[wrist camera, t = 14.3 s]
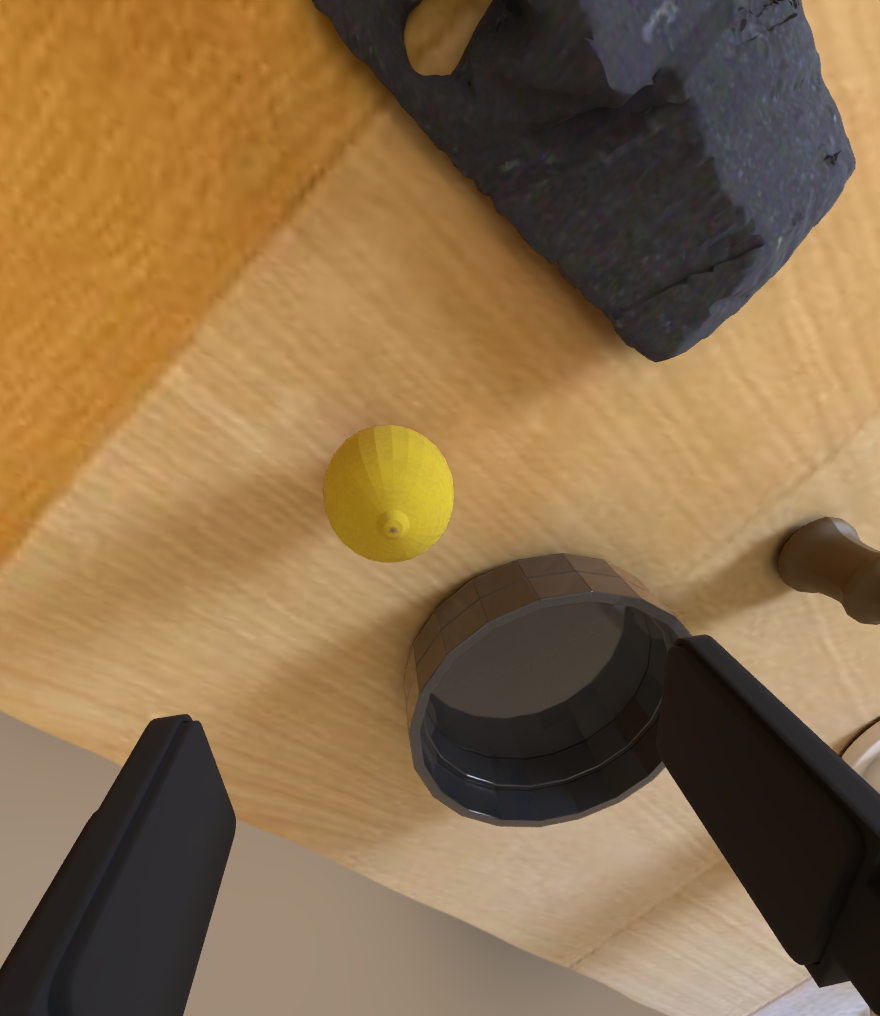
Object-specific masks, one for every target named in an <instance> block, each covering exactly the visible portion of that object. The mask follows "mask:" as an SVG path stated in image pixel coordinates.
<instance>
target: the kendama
mask: <svg viewBox="0 0 880 1016" xmlns="http://www.w3.org/2000/svg"><path fill="white" fill-rule="evenodd" d="M778 571H779V574H780V576H781V578H782V579H783V581H784V583H786V584H787V585H789V586H790V587H792V588H793V589H795V590H797V591H800V592H809V593H818V592H819V593H822V594H824V595H827V596H829V597H831V598H833V599H835V600H837V601H839V602H840V603H841V604H842V605H843V607H844V609H845V611H846V613H847V614H848V615H849V616H850V617H852V618H853V619H855V620H856V621H858V622H860V623H864V624H873V625H878V624H880V551H877V550H875V549H873V548H871V547H869V546H867V545H866V544H864V543H863V542H861V541H860V539H859V537H858V535H857V532H856V530H855V529H854V528H853V527H852V526H851V525H849V524H848V523H847V522H845V521H844V520H842V519H839V518H831V517H824V518H821V519H818V520H816V521H813V522H810V523H808V524H807V525H805V526H804V527H802V528H801V529H799V530H798V531H797V532H795V533H794V534H793V535H792V537H791V538H790V539H789V540H788V541H787V543H786V544H785V545H784V547H783V549H782V552H781V554H780V556H779V559H778Z"/></svg>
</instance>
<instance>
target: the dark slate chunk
mask: <svg viewBox="0 0 880 1016" xmlns="http://www.w3.org/2000/svg"><path fill="white" fill-rule="evenodd" d="M421 1H422V0H312V2H313V3H314V5H315V7H316V8H317V9H318V10H319V11H321V12H322V13H324V14H325V15H326V16H328V17H329V18H330V20H331V21H332V22H333V24H334V26H335V28H336V30H337V32H338V34H339V35H340V37H341V38H342V39H343V41H344V42H345V44H346V45H347V46H348V48H349V49H350V50H351V52H352V53H353V54H354V55H355V56H357V57H358V58H359V59H361V60H362V61H364V62H365V63H366V64H368V65H369V66H370V68H371V69H372V70H373V72H374V73H375V75H376V76H377V78H378V79H379V80H380V81H381V82H382V83H383V85H385V86H386V87H387V88H388V89H389V90H390V91H391V92H392V94H393V95H394V96H395V98H396V99H397V101H398V102H399V103H400V105H401V106H402V107H403V108H404V109H405V110H406V111H407V112H408V113H409V114H410V115H411V116H412V118H413V119H414V120H415V121H416V122H417V123H418V125H419V126H420V127H421V129H422V130H423V131H424V132H425V133H426V134H427V135H428V136H429V138H430V139H431V140H432V142H433V143H434V145H435V146H436V147H437V148H439V149H440V150H442V151H446V152H447V154H448V156H449V158H450V160H451V161H452V163H453V165H454V166H455V167H456V168H457V169H459V170H460V171H461V173H462V174H463V175H464V176H466V177H468V178H471V179H474V181H475V183H476V186H477V189H478V191H480V192H482V193H483V194H485V195H487V196H489V197H490V198H491V199H492V201H493V203H494V205H495V208H496V210H497V212H498V213H499V214H501V215H503V216H505V217H506V218H507V219H508V220H509V221H510V222H511V223H512V224H513V225H514V226H515V227H516V229H517V230H518V231H519V233H520V234H521V235H522V237H523V238H524V240H525V241H526V242H527V243H528V244H529V245H530V246H531V247H532V248H533V249H534V250H535V251H536V252H537V253H538V254H540V255H542V256H543V257H544V258H546V259H547V261H548V262H549V263H554V262H557V266H558V269H559V271H560V273H561V274H562V276H563V277H564V278H565V279H566V280H567V281H568V282H569V283H571V284H572V285H573V286H574V287H575V288H578V289H580V290H581V292H582V294H583V295H584V297H585V298H586V299H587V300H588V301H590V302H591V303H592V304H593V305H594V306H595V307H597V308H598V309H600V310H601V311H602V312H603V313H604V314H605V316H606V317H607V318H609V320H610V321H611V322H612V324H613V326H614V328H615V331H616V332H617V334H618V335H619V336H620V337H621V339H622V340H623V341H624V342H625V344H626V345H628V346H629V347H632V348H635V349H636V350H637V351H638V352H639V353H641V354H642V355H643V356H645V357H646V358H648V359H650V360H652V361H654V362H659V361H663V360H667V359H670V358H673V357H675V356H677V355H679V354H682V353H684V352H686V351H687V350H689V349H690V348H691V347H693V346H694V345H695V344H697V343H698V342H699V341H700V340H701V339H704V338H706V337H708V336H709V335H711V334H712V333H713V332H714V331H715V329H716V328H717V327H718V326H719V325H721V324H722V323H723V322H724V321H725V320H726V319H727V318H729V317H730V316H732V315H734V314H735V313H736V312H738V311H739V309H740V308H741V307H742V306H743V305H745V304H746V303H747V302H748V300H749V299H750V298H751V297H752V295H753V294H754V293H755V292H757V291H758V290H759V289H760V288H761V287H762V286H763V285H764V284H765V283H766V282H767V281H768V280H769V279H770V278H771V277H773V276H774V275H775V274H776V273H777V272H778V270H779V269H780V268H781V267H782V266H783V265H784V264H785V263H786V262H787V261H788V259H789V258H790V257H791V255H792V254H793V252H794V250H795V249H796V248H797V247H798V245H799V244H800V243H801V242H802V241H803V239H804V238H805V237H806V236H807V234H808V233H809V232H810V230H811V229H812V227H814V226H815V225H816V224H818V222H819V221H820V220H821V219H822V218H823V217H824V216H825V214H826V213H827V212H828V211H829V210H830V209H831V207H832V206H833V205H834V203H835V202H836V200H837V199H838V197H839V195H840V194H841V192H842V191H843V189H844V185H845V183H846V181H847V180H848V179H849V177H850V176H851V174H852V173H853V171H854V170H855V163H856V162H855V157H854V154H853V152H852V149H851V145H850V142H849V139H848V138H847V136H846V134H845V130H844V127H843V123H842V120H841V116H840V113H839V111H838V108H837V106H836V104H835V102H834V100H833V99H832V97H831V95H830V93H829V90H828V89H827V87H826V86H825V84H824V82H823V79H822V76H821V63H820V57H819V54H818V53H817V51H816V48H815V44H814V38H813V34H812V31H811V28H810V26H809V24H808V22H807V20H806V18H805V15H804V11H803V7H802V2H801V0H492V2H491V4H490V6H489V7H488V9H487V11H486V13H485V14H484V16H483V18H482V19H481V21H480V22H479V24H478V25H477V27H476V29H475V31H474V33H473V35H472V37H471V39H470V41H469V43H468V45H467V47H466V49H465V51H464V53H463V55H462V58H461V60H460V62H459V63H458V65H457V67H456V68H455V69H454V71H453V72H452V74H451V75H445V76H439V75H431V76H424V75H420V74H418V73H417V72H416V71H414V70H413V68H412V67H411V65H410V63H409V60H408V57H407V53H406V48H405V44H404V29H405V24H406V21H407V18H408V15H409V13H410V11H411V10H412V9H413V8H415V7H416V6H417V5H418V4H419V3H420V2H421Z"/></svg>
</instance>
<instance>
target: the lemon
mask: <svg viewBox="0 0 880 1016" xmlns="http://www.w3.org/2000/svg"><path fill="white" fill-rule="evenodd" d="M323 494H324V504H325V511H326V513H327V516H328V519H329V521H330V524H331V526H332V528H333V530H334V531H335V533H336V534H337V535H338V537H339V538H340V539H341V541H342V542H343V543H344V544H345V545H346V546H348V547H349V548H350V549H351V550H353V551H354V552H355V553H357V554H359V555H361V556H363V557H365V558H367V559H369V560H374V561H379V562H400V561H405V560H409V559H412V558H414V557H416V556H418V555H420V554H422V553H424V552H425V551H426V550H428V549H429V548H430V547H431V546H433V545H434V544H435V543H436V542H437V540H438V539H439V538H440V536H441V535H442V534H443V532H444V531H445V529H446V526H447V524H448V522H449V519H450V517H451V514H452V508H453V501H454V489H453V480H452V475H451V472H450V470H449V467H448V465H447V462H446V460H445V458H444V457H443V455H442V454H441V453H440V451H439V450H438V449H437V448H436V446H435V445H434V444H433V443H432V442H430V441H429V440H428V439H427V438H425V437H424V436H423V435H422V434H420V433H418V432H415V431H413V430H411V429H408V428H406V427H401V426H394V425H382V426H373V427H371V428H368V429H365V430H362V431H360V432H358V433H356V434H355V435H353V436H352V437H351V438H349V439H348V440H346V441H345V442H344V443H343V444H342V446H341V447H340V448H339V449H338V450H337V451H336V453H335V454H334V455H333V458H332V460H331V462H330V464H329V466H328V468H327V470H326V475H325V481H324V487H323Z"/></svg>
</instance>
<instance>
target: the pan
mask: <svg viewBox="0 0 880 1016" xmlns="http://www.w3.org/2000/svg"><path fill="white" fill-rule="evenodd" d="M686 637H692V635H691V634H690V633H689V631H688V630H687V629H686V628H685V626H684V625H683V624H682V622H681V621H680V620H679V619H678V617H677V616H676V615H675V614H673V613H672V612H671V611H670V610H669V609H668V608H667V607H666V606H665V605H664V604H663V603H662V602H661V601H660V600H659V599H658V598H657V597H656V596H655V595H654V594H653V593H652V592H651V591H650V590H649V589H648V588H646V587H645V586H644V585H643V584H642V583H641V582H640V581H639V580H638V579H637V578H636V577H634V576H632V575H630V574H628V573H627V572H625V571H623V570H621V569H619V568H617V567H616V566H614V565H612V564H610V563H608V562H606V561H604V560H601V559H595V558H588V557H582V556H575V555H569V554H563V553H562V554H554V555H547V556H540V557H533V558H526V559H519V560H516V561H512V562H510V563H508V564H505V565H503V566H501V567H499V568H496V569H494V570H492V571H489V572H487V573H485V574H483V575H480V576H478V577H476V578H473V580H472V579H471V580H470V581H469V582H468V583H466V584H465V585H464V586H463V587H462V588H460V589H459V590H458V591H457V592H455V593H454V594H453V595H452V596H451V597H449V598H448V599H447V600H446V601H444V602H443V603H442V604H441V605H439V606H438V607H437V609H436V610H435V611H434V613H433V614H432V616H431V617H430V619H429V620H428V622H427V623H426V625H425V626H424V628H423V629H422V631H421V632H420V634H419V635H418V637H417V638H416V640H415V641H414V643H413V645H412V649H411V653H410V657H409V661H408V664H407V668H406V672H405V676H404V686H405V697H406V708H407V720H408V731H409V739H410V745H411V752H412V759H413V766H414V769H415V770H416V772H417V773H418V775H419V776H420V778H421V779H422V781H423V782H424V784H425V785H426V787H427V788H428V790H429V791H430V793H431V794H432V796H433V797H434V798H436V799H437V800H439V801H440V802H442V803H443V804H445V805H446V806H448V807H449V808H451V809H452V810H454V811H455V812H457V813H458V814H460V815H461V816H464V817H467V818H471V819H475V820H478V821H482V822H485V823H489V824H492V825H496V826H507V827H542V826H547V825H552V824H558V823H563V822H568V821H573V820H578V819H580V818H583V817H586V816H588V815H590V814H593V813H595V812H598V811H600V810H602V809H605V808H607V807H610V806H612V805H614V804H617V803H619V802H621V801H622V800H624V799H625V798H627V797H628V796H630V795H631V794H633V793H634V792H636V791H637V790H639V789H640V788H642V787H643V786H645V785H646V784H648V783H649V782H651V781H652V780H654V778H656V777H657V775H658V774H659V773H660V772H661V771H662V770H663V769H664V768H665V767H666V766H665V765H664V763H663V762H662V760H661V758H660V756H659V754H658V750H657V746H656V738H657V731H658V723H659V716H660V708H661V700H662V693H663V685H664V678H665V670H666V663H667V655H668V650H669V649H670V648H671V647H674V644H675V641H676V640H677V639H680V638H686Z"/></svg>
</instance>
